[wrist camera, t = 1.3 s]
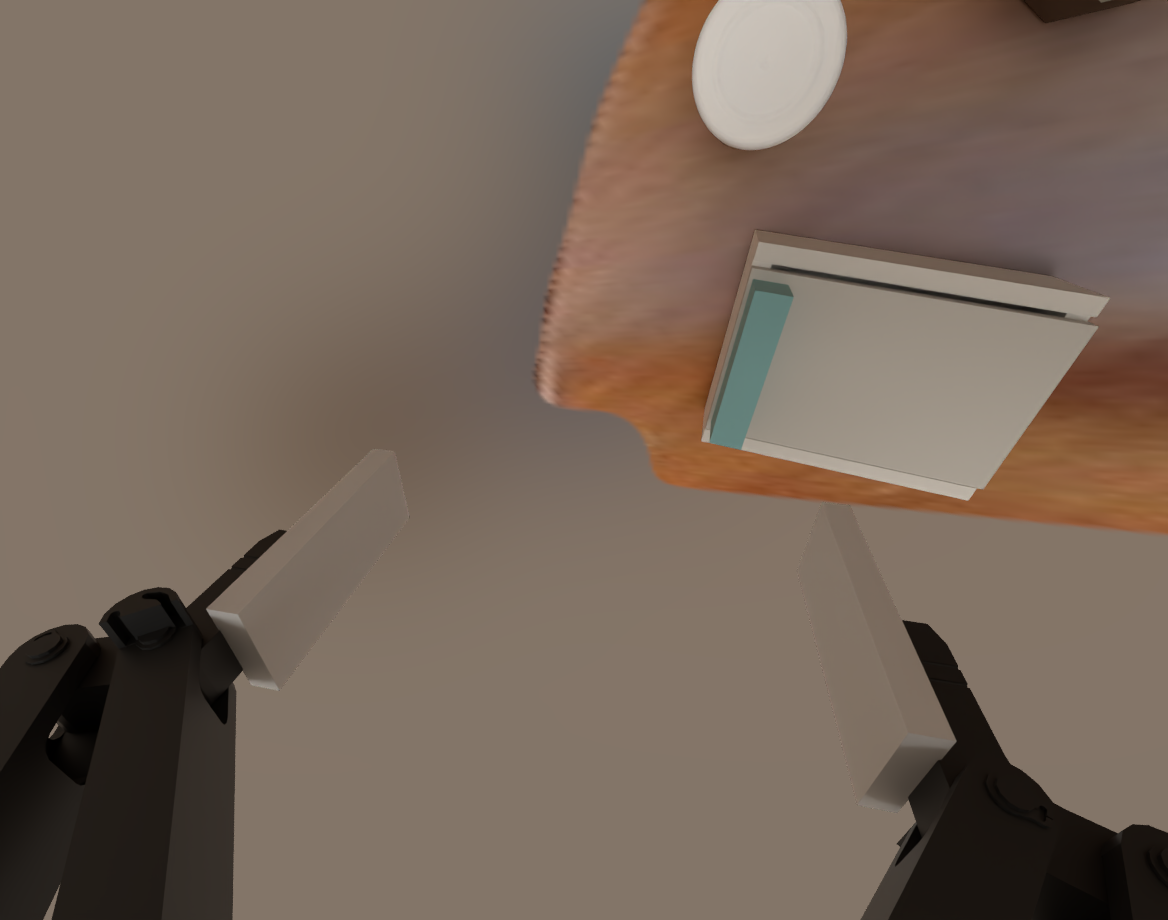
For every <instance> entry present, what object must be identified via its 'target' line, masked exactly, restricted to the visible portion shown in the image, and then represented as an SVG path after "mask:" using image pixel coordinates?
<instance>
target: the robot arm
mask: <svg viewBox="0 0 1168 920" xmlns="http://www.w3.org/2000/svg"><path fill="white" fill-rule="evenodd" d="M409 518H410V516H409V512H408V508H407V503H406V499H405V494H404V490H403V485H402V481H401V477H400V472H399V467H398V463H397V459H396V454H395V452H394V451H385V450H377V449H373V450H371V451H370V452H369V453H368V454H367V455H366V456H365V457H364V458H363V459H362V460H361V461H360V462H359V463H358V464H357V465H356V466H355V467H354V468H353V469H352V470H351V471H349V472H348V473H347V474H346V475H345V476H344V477H343V478H342V479H341V480H340V481H339V482H338V483H337V484H336V485H335V486H334V487H333V488H332V489H331V490H330V491H329V492H328V493H326V494H325V496H323V497H322V498H321V499H320V500H319V501H318V502H317V503H316V504H315V505H314V506H313V507H312V508H311V509H310V510H309V511H308V512H307V513H306V514H305V515H303V516H302V517H301V518H300V519H299V520H298V521H297V522H296V523H295V524H294V525H293V526H292V527H291V528H290V529H289V530H288V531H284V530H278V531H276V532H275V533H273V534H271V535H269V536H267V537H266V538H264V539H262V540H260V541H259V542H258V543H257V544H256V545H254V546H253V547H252V548H251V549H250V550H249V551H248V552H247V553H246V554H245V555H244V558H240V559H239V560H238V561H237V562H236V563H235V564H234V565H233V566H232V568H231V570H229V569H228V570H227V571H226V572H225V573H224V574H223V575H222V576H221V577H220V578H219V579H217V580H216V581H215V582H214V583H213V584H212V585H211V586H210V587H209V588H208V589H207V590H205V592H204V593H202V594H201V595H200V596H199V597H198V598H197V599H196V600H195V601H194V602H192V603H191V604H190V605H189V606H188V607H187V608H185V606H184V604H183V603H182V601H181V600H180V598H179V597H178V595H177V593H176V592H174V591H173V590H171V589H170V588H159V587H157V588H152V589H147V590H143V591H140V592H138V593H135V594H133V595H130V596H128V597H126V598H125V599H123V600H122V601H120V602H118V603H116V604H115V605H114V606H113V607H112V608H110V610H108V611H107V612H106V613H105V614H104V616H103V617H102V619H101V621H100V622H99V625H100V626H101V627H102V628H103V630H104V631H105V632H106V633H107V635H108V636H109V637H104V638H96V639H95V638H94V637H93V636H92V634H91V633H90V632H89V631H88V629H86V627H84V626H81V625H78V624H74V625H63V626H60V627H57V628H53V629H50V630H48V631H45V632H43V633H41V634H39V635H37V636H35V637H33V638H32V639H30V640H29V641H27V642H26V643H24V644H23V645H21V646H20V647H19V648H18V649H17V650H16V651H15V652H14V653H12V655H10V656H9V658H8V659H7V660H6V661H5V663H4V664H3V665H2V666H1V668H0V920H43V919H44V916H45V914H46V912H47V910H48V908H49V906H50V904H51V902H52V900H53V898H54V895H55V893H56V891H57V889H58V887H59V885H60V888H59V892H58V896H57V901H56V904H55V909H54V912H53V916H52V920H232V909H233V852H234V793H235V735H236V730H235V729H236V690H235V686H234V684H233V681H234V680H235V679H236V678H237V676H238V675H239V674H240V673H241V672H242V671H243V672H244V674H245V675H246V677H247V678H248V680H249V682H250V684H251V685H253V686H258V687H264V688H268V689H273V690H278V691H280V689H281V688H282V687H283V686H284V684H285V683H286V682H287V680H288V679H289V678H290V676H291V675H292V674H293V672H294V671H295V670H296V668H297V667H298V666H299V664H300V663H301V662H302V660H303V659H304V658H305V656H306V655H307V654H308V652H309V651H310V650H311V648H312V647H313V646H314V644H315V643H316V641H317V640H318V639H319V638H320V636H321V635H322V634H323V632H324V631H325V630H326V628H327V627H328V626H329V624H330V623H331V622H332V620H333V619H334V618H335V616H336V615H337V614H338V612H339V611H340V610H341V608H342V607H343V606H344V604H345V603H346V602H347V600H348V599H349V598H350V596H351V595H352V594H353V592H354V591H355V590H356V588H357V587H358V586H359V584H360V583H361V582H362V580H363V579H364V577H365V576H366V575H367V574H368V572H369V571H370V570H371V569H372V567H373V566H374V565H375V563H376V562H377V561H378V559H379V558H380V556H381V555H382V554H383V552H384V551H385V550H386V549H387V547H388V546H389V545H390V543H391V542H392V541H393V539H394V538H395V537H396V535H397V534H398V533H399V531H400V530H401V529H402V527H403V526H404V525H405V523H406V522H407V521H408V519H409ZM797 573H798V577H799V581H800V585H801V589H802V593H803V597H804V601H805V605H806V608H807V612H808V616H809V620H810V624H811V628H812V632H813V636H814V639H815V644H816V647H817V651H818V655H819V659H820V663H821V667H822V671H823V674H824V678H825V683H826V686H827V690H828V694H829V698H830V702H831V706H832V710H833V714H834V718H835V722H836V725H837V729H838V733H839V737H840V741H841V745H842V749H843V753H844V757H845V760H846V764H847V768H848V772H849V776H850V780H851V784H852V788H853V792H854V795H855V799H856V803H857V805H859V806H864V807H869V808H874V809H879V810H884V811H889V812H894V813H898V812H899V810H900V809H901V808H902V807H903V806H904V804H905V803H906V802H907V801H908V800H909V802H910V805H911V808H912V811H913V814H914V817H915V820H916V823H915V824H914V825H913V826H912V827H911V828H910V829H909V831H908V832H907V833H906V834H905V835H904V836H903V837H902V839H901V840H900V841H899V842H898V843H897V844H898V845H899V846H900V849H899V851H898V853H897V854H896V856H895V858H894V860H893V862H892V864H891V865H890V867H889V869H888V871H887V873H886V874H885V876H884V878H883V880H882V882H881V884H880V885H879V887H878V889H877V891H876V893H875V894H874V896H873V898H872V900H871V902H870V904H869V905H868V907H867V909H866V911H865V913H864V915H863V917H862V918H861V920H1168V833H1166V832H1164V831H1161V830H1159V829H1156V828H1154V827H1151V826H1149V825H1135V824H1133V825H1131V826H1129V827H1127V828H1126V829H1124V830H1123V831H1121V832H1120V833H1116V832H1113V831H1111V830H1109V829H1107V828H1105V827H1102V826H1100V825H1098V824H1096V823H1094V822H1092V821H1090V820H1087V819H1085V818H1083V817H1081V816H1079V815H1076V814H1074V813H1072V812H1070V811H1068V810H1066V809H1063V808H1062V807H1060V806H1058V805H1056V804H1054V803H1053V802H1052V801H1051V799H1050V798H1049V797H1048V796H1047V794H1046V793H1045V792H1044V791H1043V789H1042V788H1041V787H1040V786H1039V785H1038V784H1037V783H1036V782H1035V781H1034V780H1033V779H1031V778H1030V777H1029V776H1028V775H1027V774H1026V773H1024V772H1023V771H1022V770H1020V769H1018V768H1017V767H1015V766H1013V765H1011V764H1010V763H1009V761H1008V760H1007V758H1006V757H1005V755H1004V753H1003V751H1002V749H1001V747H1000V745H999V743H998V742H997V740H996V738H995V736H994V734H993V732H992V730H991V729H990V726H989V724H988V722H987V721H986V718H985V717H984V715H983V713H982V711H981V709H980V707H979V705H978V703H977V701H976V699H975V697H974V696H973V694H972V692H971V690H970V688H967V682H966V680H965V678H964V676H963V674H962V672H961V671H960V670H958V665H957V663H956V661H955V659H954V657H953V655H952V653H951V651H950V650H949V648H948V646H947V644H946V643H945V642H944V641H943V640H942V639H941V638H940V637H939V636H938V634H936V633H935V631H934V630H933V629H932V628H931V627H930V626H929V625H928V624H924V623H917V622H911V621H904V620H902V619H901V617H900V615H899V613H898V611H897V608H896V606H895V604H894V602H893V600H892V597H891V595H890V593H889V591H888V589H887V586H886V584H885V582H884V580H883V578H882V575H881V573H880V571H879V568H878V566H877V564H876V562H875V560H874V557H873V555H872V553H871V551H870V549H869V546H868V544H867V542H866V540H865V538H864V536H863V533H862V531H861V529H860V526H859V524H858V522H857V520H856V518H855V515H854V513H853V511H852V509H851V507H850V505H843V504H834V503H826V502H821V505H820V508H819V511H818V513H817V516H816V519H815V522H814V525H813V527H812V530H811V533H810V536H809V539H808V542H807V544H806V547H805V550H804V552H803V555H802V559H801V561H800V564H799V567H798V569H797ZM56 723H57V724H58V725H59V726H58V727H57V729H56V731H55V732H54V734H53V735H52V736H51V737H50V738H48V737H49V735H50V732H51V731H52V729H53V727H54V726H55V724H56ZM60 883H61V884H60Z"/></svg>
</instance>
